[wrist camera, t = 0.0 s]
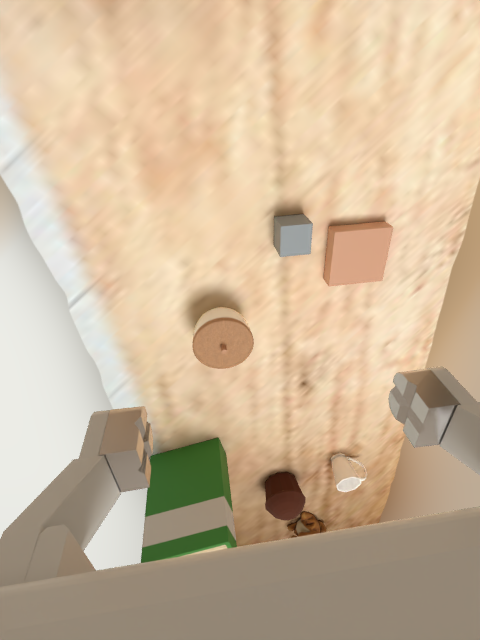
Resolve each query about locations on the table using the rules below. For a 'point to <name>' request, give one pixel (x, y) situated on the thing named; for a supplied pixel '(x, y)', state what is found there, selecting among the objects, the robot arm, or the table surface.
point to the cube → (292, 235)
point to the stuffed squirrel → (307, 525)
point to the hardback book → (188, 503)
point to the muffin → (283, 496)
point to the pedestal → (356, 253)
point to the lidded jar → (222, 338)
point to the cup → (346, 472)
